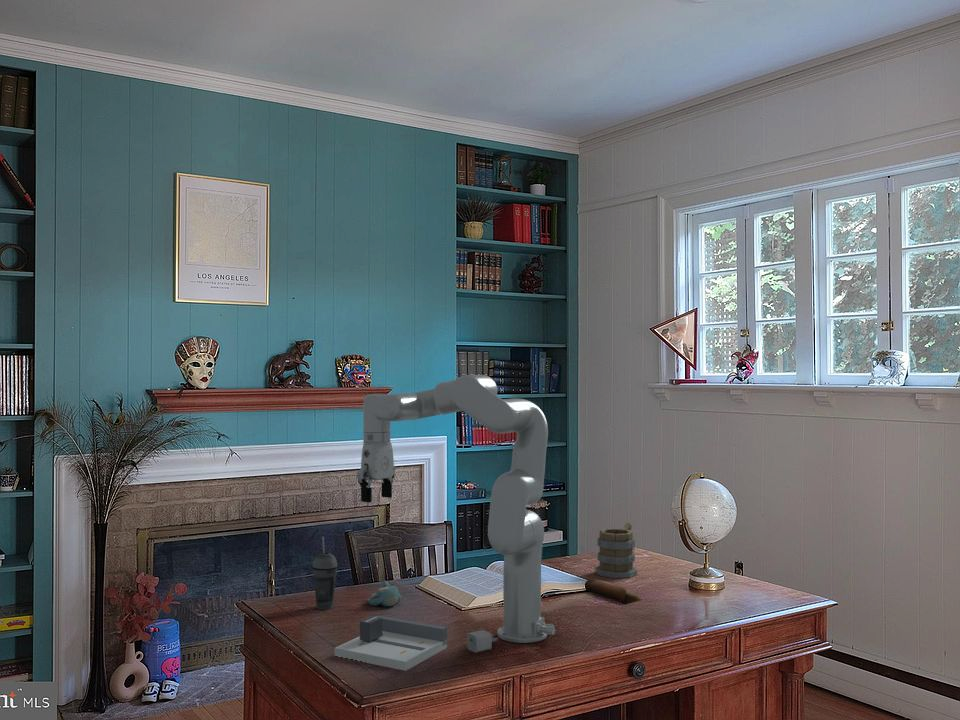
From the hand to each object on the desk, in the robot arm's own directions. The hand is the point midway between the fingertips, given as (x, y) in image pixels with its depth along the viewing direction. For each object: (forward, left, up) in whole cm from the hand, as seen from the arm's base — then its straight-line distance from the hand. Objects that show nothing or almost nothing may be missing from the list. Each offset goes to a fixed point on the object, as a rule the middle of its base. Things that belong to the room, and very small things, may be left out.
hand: (376, 499), depth 235 cm
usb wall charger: (-41, +13, -32) cm, 53 cm away
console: (-23, +26, -31) cm, 47 cm away
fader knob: (-17, +26, -29) cm, 42 cm away
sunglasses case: (-52, -48, -32) cm, 78 cm away
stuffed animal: (+3, -8, -32) cm, 33 cm away
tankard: (-44, -78, -31) cm, 95 cm away
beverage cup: (+15, +4, -31) cm, 35 cm away
